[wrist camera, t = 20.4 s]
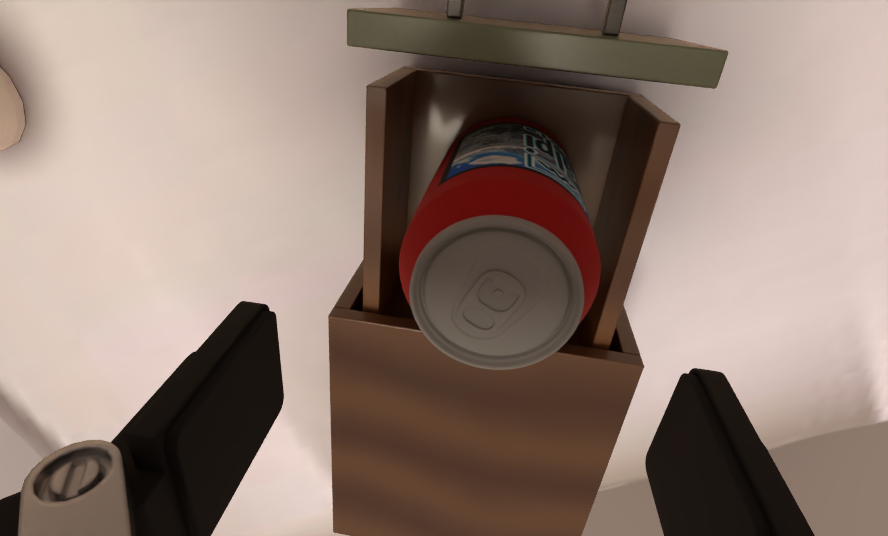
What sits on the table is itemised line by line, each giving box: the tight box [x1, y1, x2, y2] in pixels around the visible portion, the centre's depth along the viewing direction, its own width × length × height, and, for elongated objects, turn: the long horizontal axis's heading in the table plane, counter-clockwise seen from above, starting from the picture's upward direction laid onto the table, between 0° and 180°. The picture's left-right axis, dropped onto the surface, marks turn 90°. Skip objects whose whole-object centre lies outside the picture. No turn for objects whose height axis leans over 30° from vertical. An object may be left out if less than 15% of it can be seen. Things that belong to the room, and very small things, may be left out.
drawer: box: [347, 0, 728, 350], centre depth 22 cm, size 20×13×7 cm, turn 175°
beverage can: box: [399, 117, 601, 370], centre depth 20 cm, size 7×7×12 cm
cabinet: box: [328, 259, 644, 536], centre depth 30 cm, size 16×14×9 cm
